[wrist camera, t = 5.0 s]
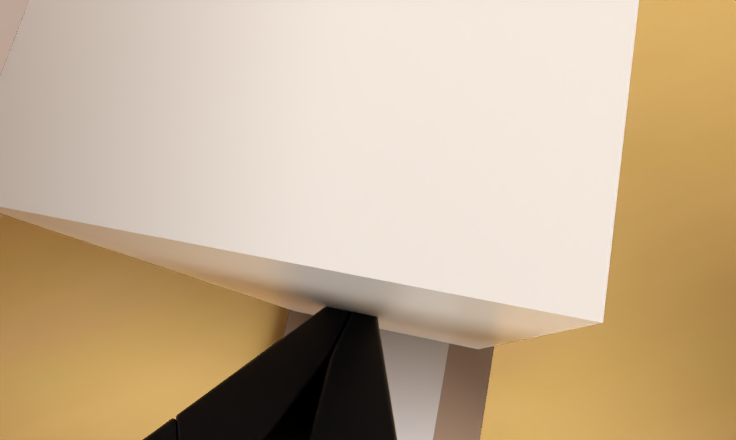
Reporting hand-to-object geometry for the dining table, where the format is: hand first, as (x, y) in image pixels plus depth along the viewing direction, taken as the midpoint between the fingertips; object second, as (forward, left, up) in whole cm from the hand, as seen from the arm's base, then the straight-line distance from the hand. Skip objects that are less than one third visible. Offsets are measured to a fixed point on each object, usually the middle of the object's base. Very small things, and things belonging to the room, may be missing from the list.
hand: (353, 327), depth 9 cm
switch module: (+1, -2, -5) cm, 6 cm away
